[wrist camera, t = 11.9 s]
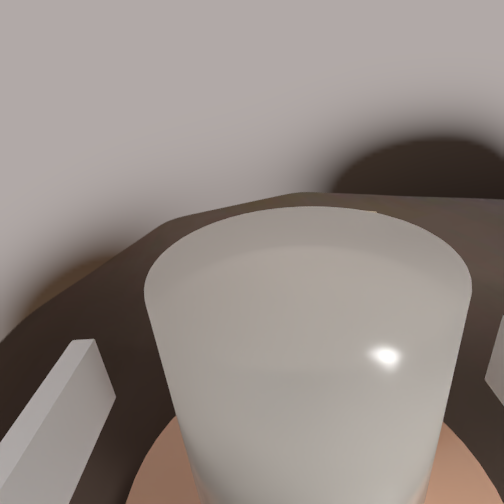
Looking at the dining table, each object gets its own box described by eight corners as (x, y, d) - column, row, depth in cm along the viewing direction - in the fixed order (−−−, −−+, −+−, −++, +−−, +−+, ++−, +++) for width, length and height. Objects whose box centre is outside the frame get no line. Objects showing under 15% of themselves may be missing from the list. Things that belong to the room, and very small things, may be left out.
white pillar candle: (449, 492, 14) (518, 242, 9) (332, 727, 9) (342, 474, 4) (294, 386, 19) (283, 193, 14) (169, 501, 15) (90, 273, 10)
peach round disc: (569, 500, 14) (578, 486, 14) (391, 1278, 5) (397, 1308, 5) (287, 339, 24) (286, 328, 24) (62, 517, 15) (54, 504, 15)
